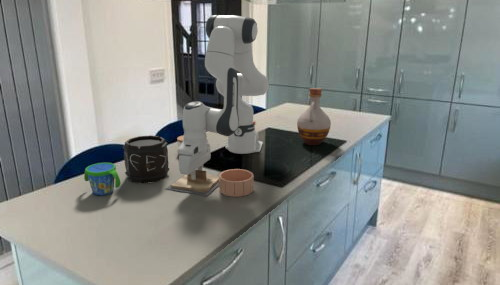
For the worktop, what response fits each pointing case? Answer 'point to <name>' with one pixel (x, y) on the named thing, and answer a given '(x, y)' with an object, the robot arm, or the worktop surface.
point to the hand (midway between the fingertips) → (196, 177)
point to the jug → (314, 121)
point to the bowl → (236, 182)
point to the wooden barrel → (146, 159)
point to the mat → (194, 191)
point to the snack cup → (102, 178)
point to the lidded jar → (180, 140)
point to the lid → (196, 182)
